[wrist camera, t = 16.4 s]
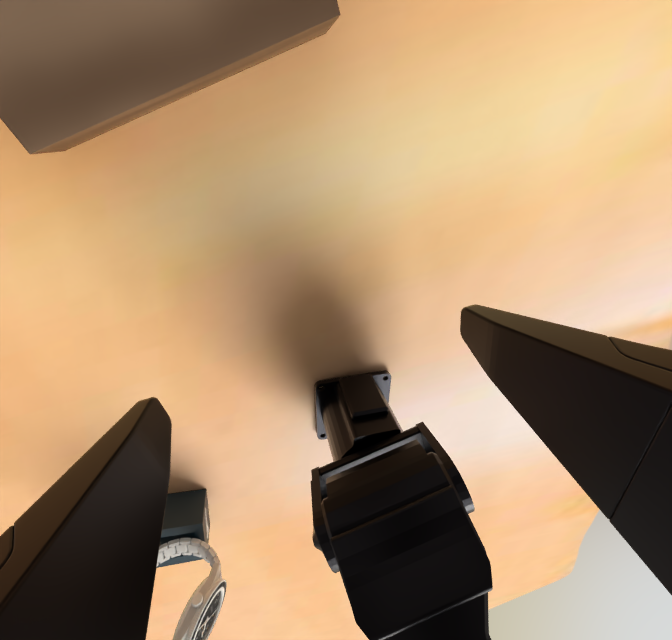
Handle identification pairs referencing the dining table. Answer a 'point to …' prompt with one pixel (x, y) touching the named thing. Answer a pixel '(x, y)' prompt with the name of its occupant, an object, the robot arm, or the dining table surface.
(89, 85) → the walnut block
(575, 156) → the dining table surface
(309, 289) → the dining table surface
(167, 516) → the watch
